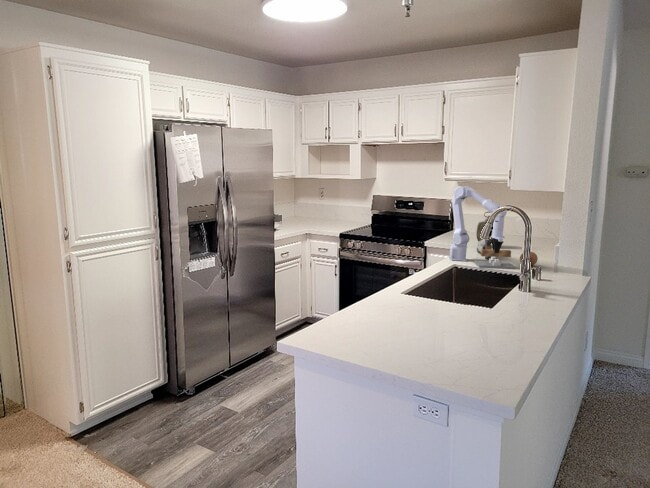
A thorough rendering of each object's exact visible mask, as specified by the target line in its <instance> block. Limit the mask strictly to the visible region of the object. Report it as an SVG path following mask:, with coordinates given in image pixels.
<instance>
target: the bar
mask: <svg viewBox="0 0 650 488" xmlns="http://www.w3.org/2000/svg"><path fill="white" fill-rule="evenodd" d="M485 256H489V257H496V258H497V257H498V258H511V257H512V250H510V249H500V251H499V253H495V252H494V250H493V249H492V250H489V249H481V253H480V257H485Z"/></svg>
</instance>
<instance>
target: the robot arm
mask: <svg viewBox="0 0 650 488" xmlns="http://www.w3.org/2000/svg"><path fill="white" fill-rule="evenodd" d="M467 198H472V199H473V200H475V201H477V202H478V203H480V204H481V205H482V208H483V209H485V210H486V211H487V212H490V213H489V214H492V213H493V212H494V211H495V210H497V209H498V208H500V207H501V205H500V204H497V203H495V202H494V200H493V199H489V198H488V199H486V198H485V197H484V196H482V195H481V194H480V193H478V192H477V191H476V190H475V189H474V188H472V187H470V186H468V185H465V186H460V185H459V186H457V187H456V188H455V189H454V190H453V196H452V198H451V206H452V213H453V214H452V215H453V219H454V220H453V221H454V222H453V223H454V229H455V230H454V231H453V237H452V242H453V244H451V245H450V247H449V257H448V258H449V260H450V261H460V262H462V261H463V262H467V261H468V259H467V249H468V247H467V246H468V243H469V242H470V236H469V235H468V231H467V230H466V228H465V219H464V212H463V202H464V201H465V199H467ZM507 212H508V211H507V210H506V211H505V212H502V213H500V214H499V215H498V216H497V217H496V219H495V221H494V225H493V232H492V238H493V239H490V240H491V249H492V250H494V252H495V253H499V251H500V250H501V247H502V245H503V244H504V241H503V240H504V239H505V237H506V236H505V235H504V224H505V217H506V215H507Z"/></svg>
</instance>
